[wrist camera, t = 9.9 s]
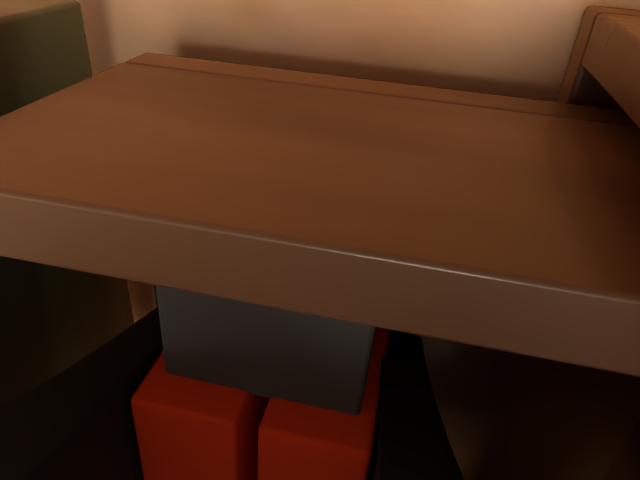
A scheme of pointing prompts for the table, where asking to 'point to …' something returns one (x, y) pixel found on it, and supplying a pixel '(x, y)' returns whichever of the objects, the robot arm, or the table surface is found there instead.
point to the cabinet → (606, 62)
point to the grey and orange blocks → (257, 393)
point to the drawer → (332, 229)
